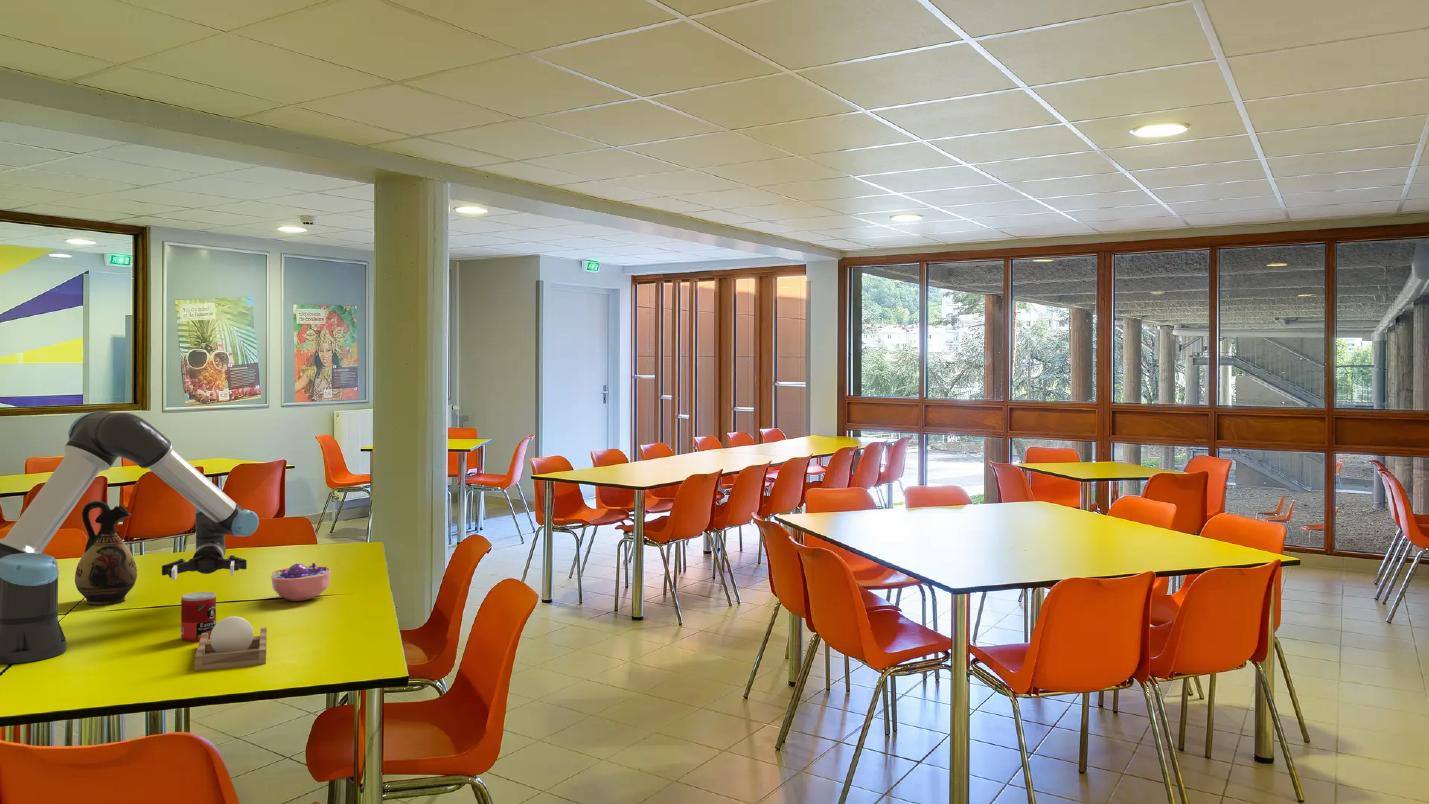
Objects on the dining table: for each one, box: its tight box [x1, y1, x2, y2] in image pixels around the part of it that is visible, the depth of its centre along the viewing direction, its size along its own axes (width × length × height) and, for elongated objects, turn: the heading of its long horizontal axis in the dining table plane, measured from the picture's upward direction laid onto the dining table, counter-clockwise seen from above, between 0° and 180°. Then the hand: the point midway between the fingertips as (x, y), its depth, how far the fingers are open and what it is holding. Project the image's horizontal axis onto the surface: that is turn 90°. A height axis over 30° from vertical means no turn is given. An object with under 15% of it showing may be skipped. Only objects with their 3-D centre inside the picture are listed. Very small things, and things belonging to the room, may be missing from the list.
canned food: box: [180, 591, 217, 643], centre depth 234 cm, size 8×8×11 cm
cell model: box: [270, 562, 332, 602], centre depth 279 cm, size 17×20×11 cm
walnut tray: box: [194, 626, 268, 672], centre depth 220 cm, size 22×14×3 cm, turn 26°
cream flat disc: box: [209, 615, 255, 653], centre depth 216 cm, size 1×9×9 cm, turn 116°
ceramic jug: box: [74, 500, 138, 606], centre depth 272 cm, size 17×15×30 cm
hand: (202, 572), depth 243 cm, fingers open, 13 cm apart
